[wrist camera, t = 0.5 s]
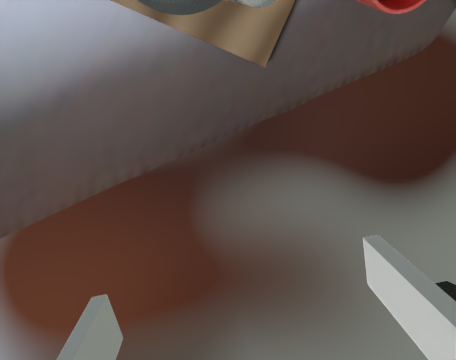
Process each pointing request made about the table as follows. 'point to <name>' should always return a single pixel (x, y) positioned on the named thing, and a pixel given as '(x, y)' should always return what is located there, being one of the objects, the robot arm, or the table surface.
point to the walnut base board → (229, 26)
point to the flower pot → (393, 5)
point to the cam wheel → (195, 5)
